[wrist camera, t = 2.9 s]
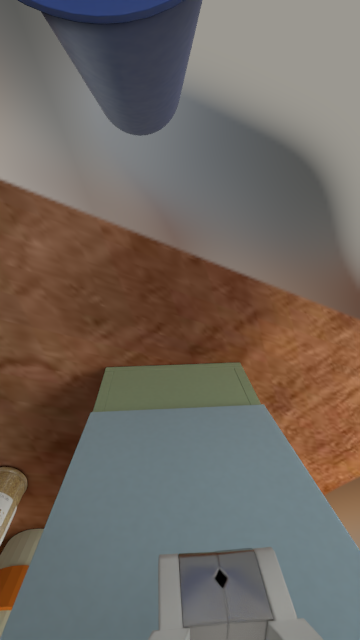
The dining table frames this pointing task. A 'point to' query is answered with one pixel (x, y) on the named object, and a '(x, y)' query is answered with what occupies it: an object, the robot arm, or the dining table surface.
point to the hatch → (180, 523)
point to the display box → (174, 387)
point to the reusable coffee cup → (15, 569)
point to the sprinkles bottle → (10, 496)
